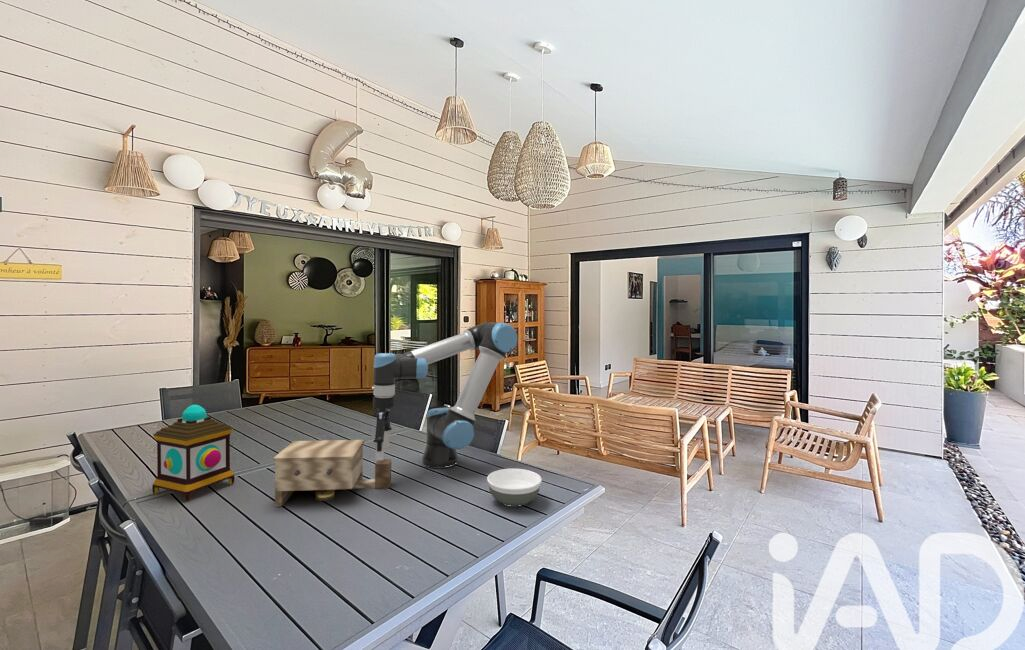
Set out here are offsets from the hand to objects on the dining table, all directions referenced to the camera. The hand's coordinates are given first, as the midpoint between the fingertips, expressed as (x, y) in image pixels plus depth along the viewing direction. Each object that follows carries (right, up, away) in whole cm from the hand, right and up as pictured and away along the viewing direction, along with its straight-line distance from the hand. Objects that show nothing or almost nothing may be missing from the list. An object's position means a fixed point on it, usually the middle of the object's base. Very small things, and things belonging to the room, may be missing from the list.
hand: (382, 453), depth 164 cm
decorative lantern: (-65, -11, -5) cm, 66 cm away
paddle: (-11, -12, -1) cm, 16 cm away
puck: (-17, -12, -10) cm, 23 cm away
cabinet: (-19, -12, -7) cm, 24 cm away
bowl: (+48, -14, -11) cm, 51 cm away
